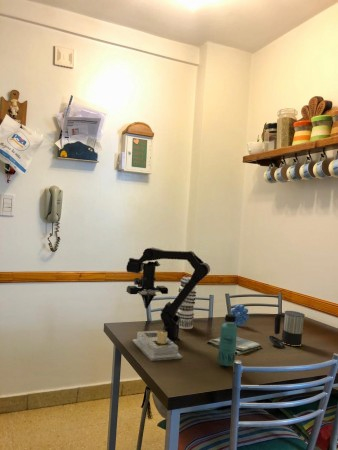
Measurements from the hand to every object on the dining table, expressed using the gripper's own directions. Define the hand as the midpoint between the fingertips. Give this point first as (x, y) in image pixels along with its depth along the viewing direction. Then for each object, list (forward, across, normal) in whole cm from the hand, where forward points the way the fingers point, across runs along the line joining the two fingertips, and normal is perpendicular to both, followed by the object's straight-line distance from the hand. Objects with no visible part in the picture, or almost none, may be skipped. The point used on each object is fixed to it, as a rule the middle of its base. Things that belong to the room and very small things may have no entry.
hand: (146, 308), depth 177 cm
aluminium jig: (+12, +2, +20) cm, 23 cm away
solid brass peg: (+11, +2, +25) cm, 27 cm away
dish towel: (+13, -35, +22) cm, 43 cm away
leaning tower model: (+12, -25, -8) cm, 29 cm away
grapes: (+12, -56, -4) cm, 57 cm away
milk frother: (+12, -61, +26) cm, 68 cm away
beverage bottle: (+12, -18, +42) cm, 47 cm away
